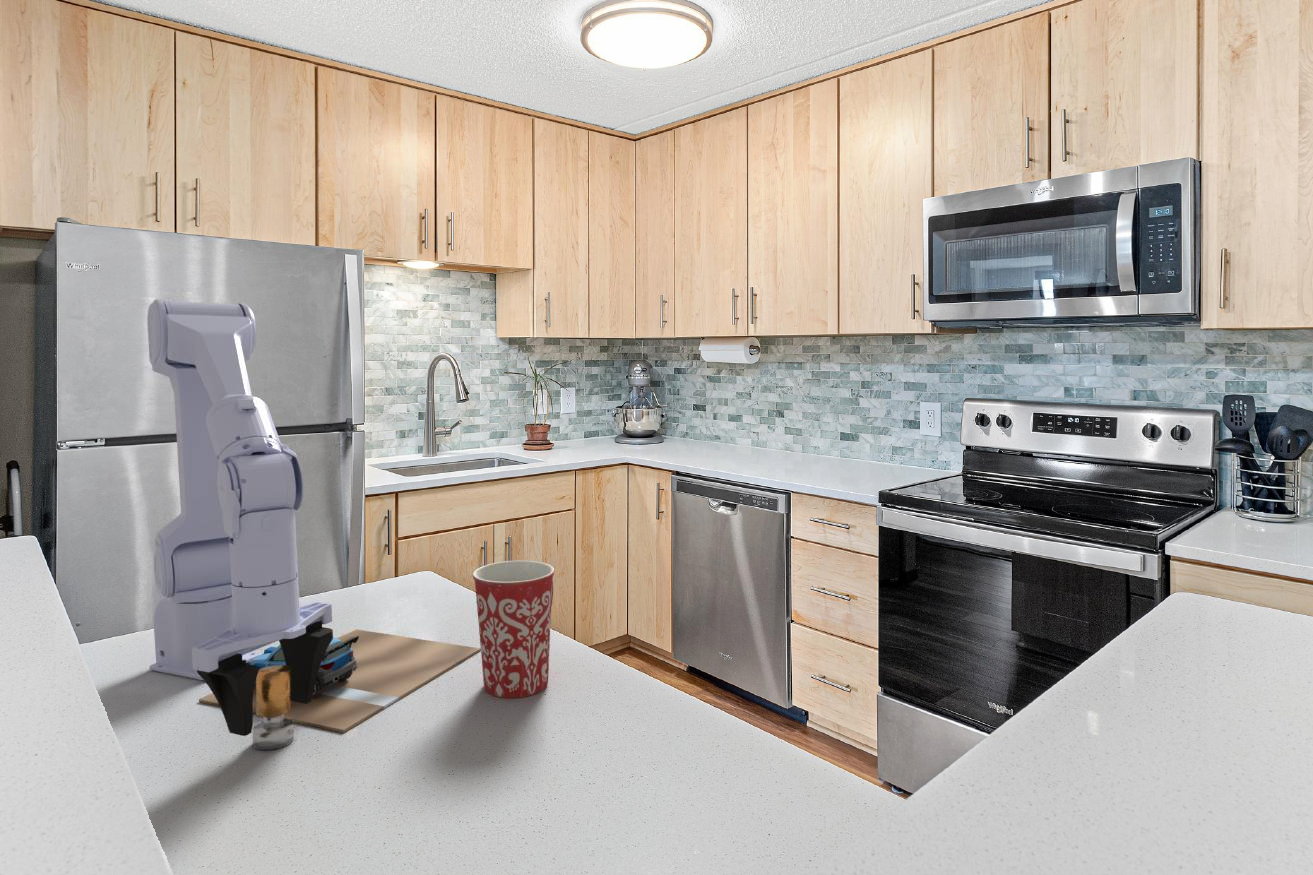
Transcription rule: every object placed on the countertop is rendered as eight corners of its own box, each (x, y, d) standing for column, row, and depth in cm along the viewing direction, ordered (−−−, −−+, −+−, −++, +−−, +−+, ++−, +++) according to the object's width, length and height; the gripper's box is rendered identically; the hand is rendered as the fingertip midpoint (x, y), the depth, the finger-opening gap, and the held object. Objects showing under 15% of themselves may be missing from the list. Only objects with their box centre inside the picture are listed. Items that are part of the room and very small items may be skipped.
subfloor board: (199, 701, 86) (198, 699, 86) (356, 631, 108) (356, 629, 108) (343, 732, 79) (343, 729, 79) (480, 650, 101) (480, 648, 101)
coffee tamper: (244, 747, 75) (244, 675, 75) (267, 732, 79) (267, 663, 78) (279, 750, 75) (279, 678, 74) (301, 735, 78) (301, 665, 78)
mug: (530, 708, 84) (528, 584, 83) (459, 695, 88) (456, 576, 86) (584, 665, 96) (583, 557, 95) (519, 655, 99) (518, 550, 98)
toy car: (278, 669, 94) (276, 623, 94) (364, 680, 91) (362, 632, 90) (239, 688, 88) (236, 639, 88) (329, 701, 85) (326, 650, 84)
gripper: (230, 605, 67) (238, 758, 68) (353, 564, 80) (358, 693, 82) (171, 597, 69) (180, 744, 71) (300, 558, 83) (305, 683, 84)
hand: (272, 716), depth 76 cm, fingers open, 7 cm apart
